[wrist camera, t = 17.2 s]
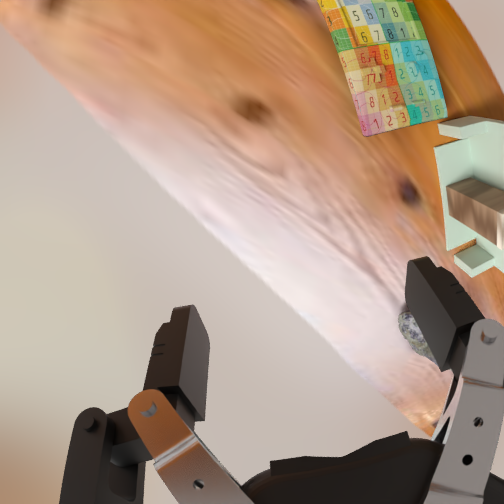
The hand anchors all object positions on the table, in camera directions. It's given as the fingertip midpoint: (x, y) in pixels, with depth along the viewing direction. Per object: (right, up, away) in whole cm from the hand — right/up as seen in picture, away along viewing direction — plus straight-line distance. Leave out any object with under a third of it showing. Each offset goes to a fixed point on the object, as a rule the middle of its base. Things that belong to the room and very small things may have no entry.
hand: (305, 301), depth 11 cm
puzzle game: (+13, +26, +20) cm, 35 cm away
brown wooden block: (+28, +10, +27) cm, 40 cm away
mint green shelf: (+29, +10, +27) cm, 41 cm away
